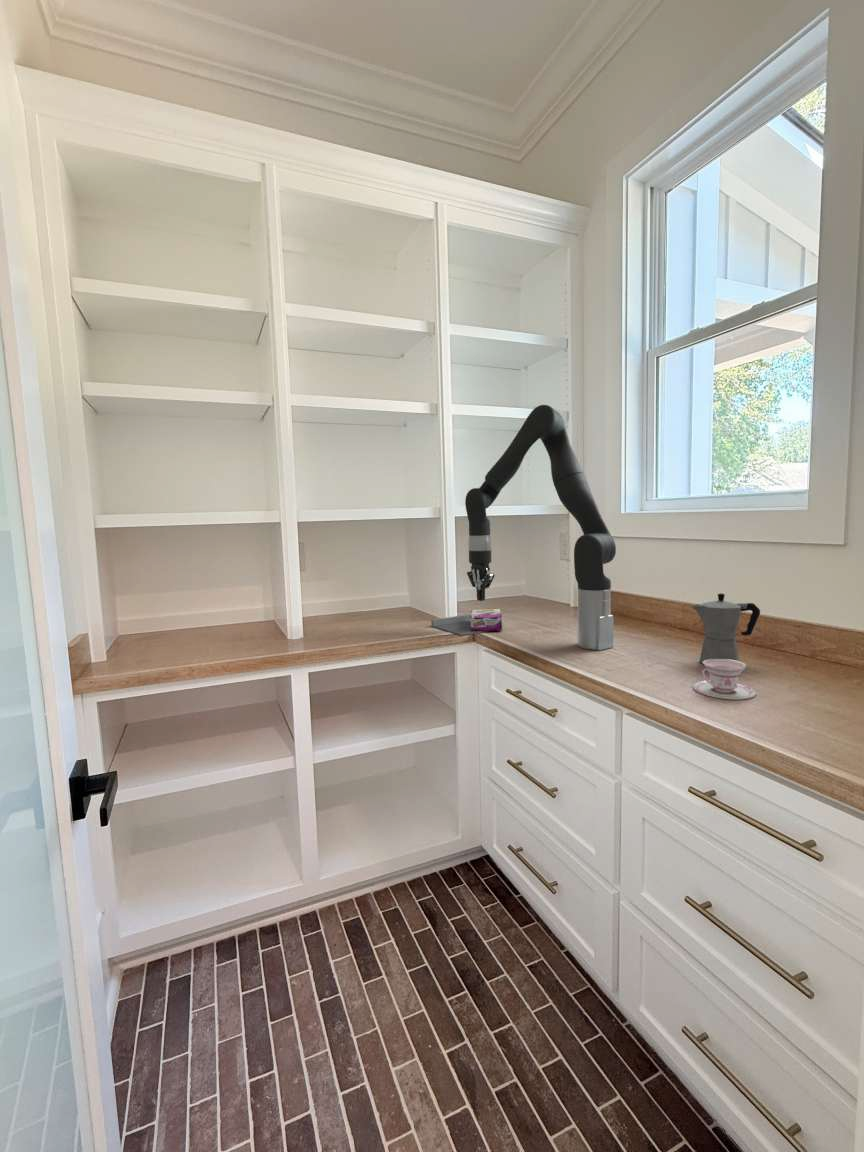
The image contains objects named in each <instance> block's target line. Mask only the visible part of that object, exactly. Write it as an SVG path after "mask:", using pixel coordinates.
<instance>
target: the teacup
mask: <svg viewBox="0 0 864 1152" xmlns="http://www.w3.org/2000/svg"><path fill="white" fill-rule="evenodd" d="M702 665H704V666H703V667H701V668H700V670H701V676H702V678H703V679H704V680H700V681H696V682H695V683H693V684H692V688H693V690H695V692H697V693H699V694H701V695H704V696H706V697H707V696H708V697H711V698H717V699H722V700H731V701H732V700H735V701H737V700H740V701H741V700H742V701H743V700H749V699H752V698H754V697H755V696H756V695H757V693H756V690H754V689H753V688H752V687H750V686H748V685H745V684H741V683H739V680H738V679H739V677H740V676H741V672H743V671H744V670H745V668H746V667H747V664H746V663H745V662H742V661H740V660H739V661H735V660H728V659H709V660H705V661H703V664H702ZM705 671H707V672H708V674H709V678H707V677H706V674H705ZM712 689H714V691H713V690H712ZM715 691H716V692H715ZM733 691H735V693H732V692H733ZM730 693H731V694H730Z"/></svg>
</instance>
